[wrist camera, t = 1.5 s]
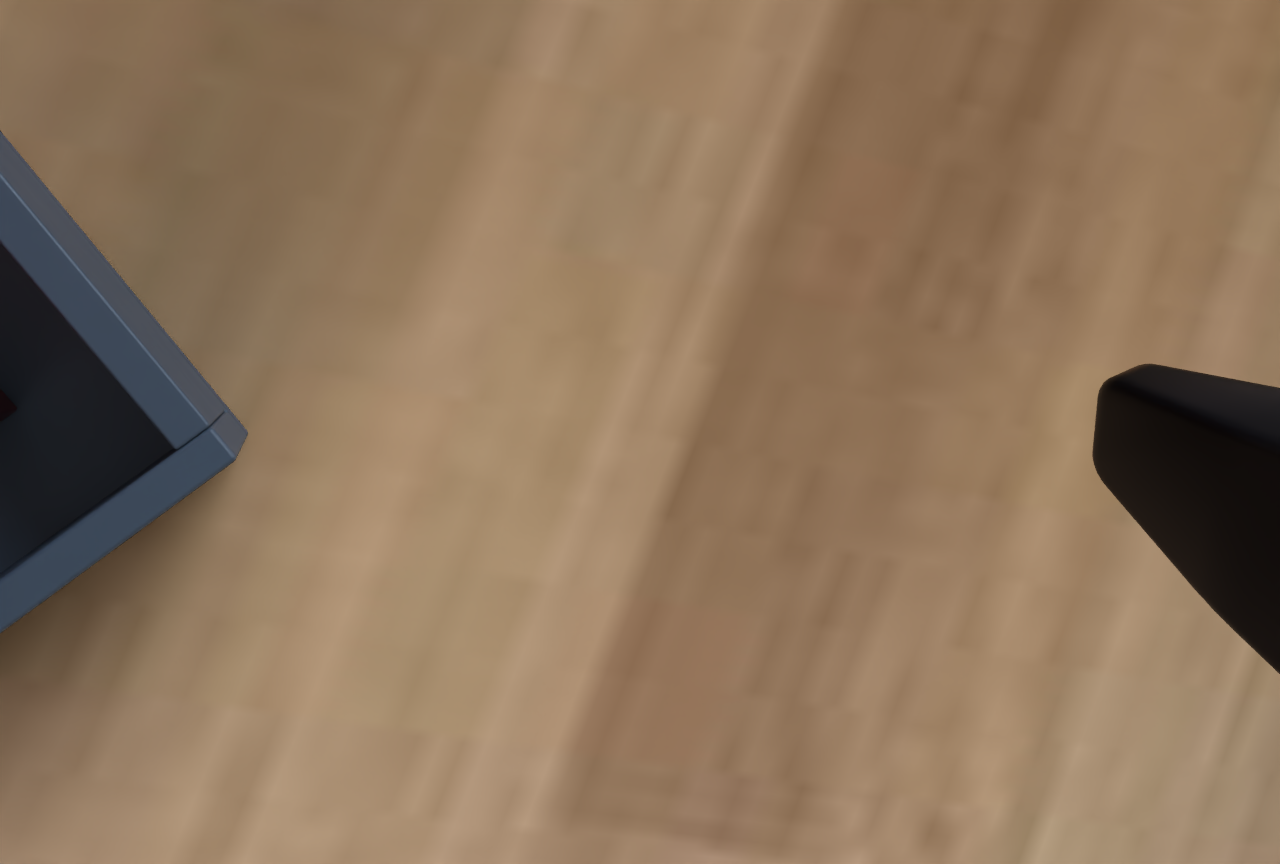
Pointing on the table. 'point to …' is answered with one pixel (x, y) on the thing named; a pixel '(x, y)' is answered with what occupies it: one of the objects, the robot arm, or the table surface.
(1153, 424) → the robot arm
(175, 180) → the table surface
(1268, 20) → the table surface
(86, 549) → the box
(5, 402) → the tea packet
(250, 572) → the table surface
